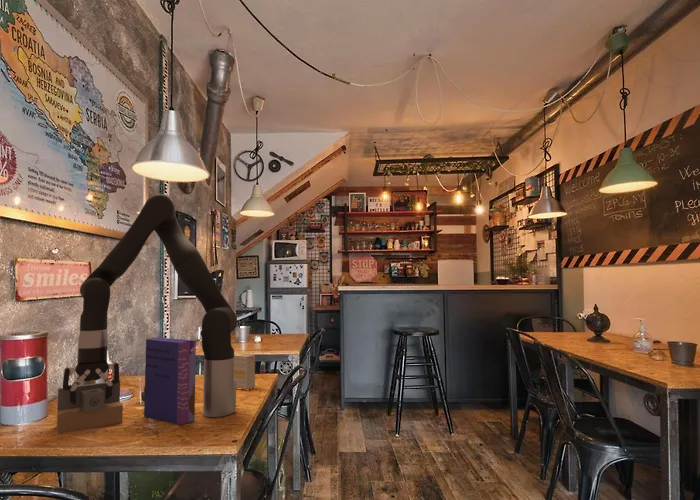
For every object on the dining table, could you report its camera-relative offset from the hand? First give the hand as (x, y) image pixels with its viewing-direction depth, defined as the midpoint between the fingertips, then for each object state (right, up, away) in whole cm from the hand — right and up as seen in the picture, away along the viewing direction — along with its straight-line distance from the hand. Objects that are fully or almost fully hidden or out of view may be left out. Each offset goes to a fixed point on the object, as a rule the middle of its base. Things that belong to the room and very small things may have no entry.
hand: (91, 401), depth 127 cm
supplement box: (+34, -10, +42) cm, 55 cm away
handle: (-9, -8, +13) cm, 18 cm away
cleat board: (0, -7, 0) cm, 7 cm away
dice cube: (+1, -2, -1) cm, 3 cm away
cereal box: (+21, -7, +5) cm, 23 cm away
